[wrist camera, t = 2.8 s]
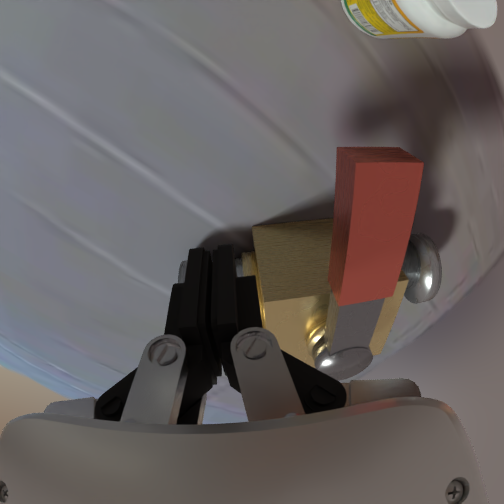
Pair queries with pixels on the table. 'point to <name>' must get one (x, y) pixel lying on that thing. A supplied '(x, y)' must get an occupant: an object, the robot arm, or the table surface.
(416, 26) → the supplement bottle
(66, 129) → the table surface
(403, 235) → the lever
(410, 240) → the valve
